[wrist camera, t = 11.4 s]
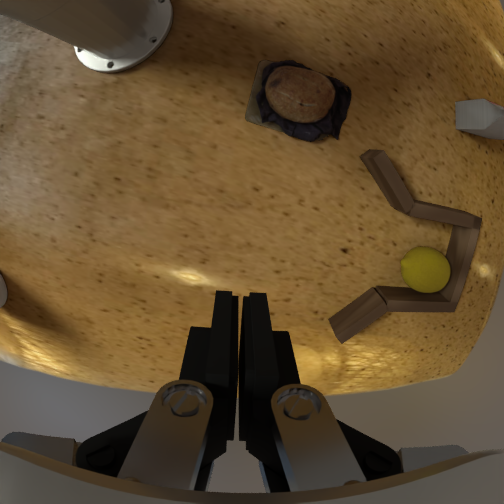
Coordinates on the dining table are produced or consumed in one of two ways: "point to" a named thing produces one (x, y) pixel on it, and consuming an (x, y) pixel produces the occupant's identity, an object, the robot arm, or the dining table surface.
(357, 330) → the corral
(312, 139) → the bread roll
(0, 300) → the milk bottle
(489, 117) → the grey block
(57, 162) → the dining table surface
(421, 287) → the lemon
